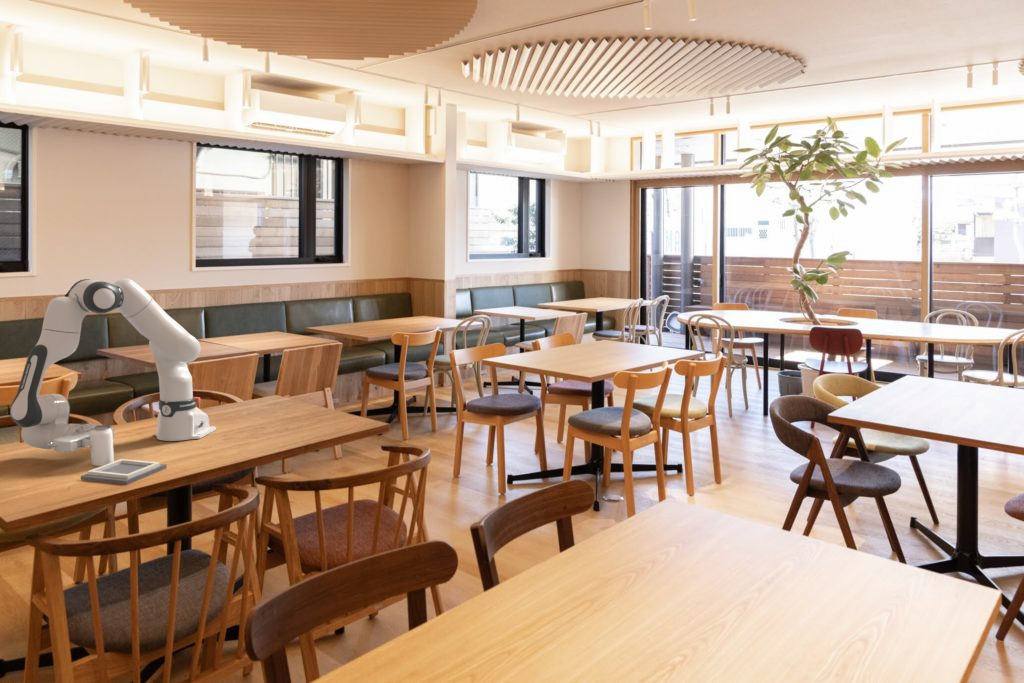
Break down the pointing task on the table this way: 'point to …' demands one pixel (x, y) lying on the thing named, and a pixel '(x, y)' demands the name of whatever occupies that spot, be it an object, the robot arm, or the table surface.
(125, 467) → the grey rimmed tray
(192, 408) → the robot arm
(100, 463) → the can
